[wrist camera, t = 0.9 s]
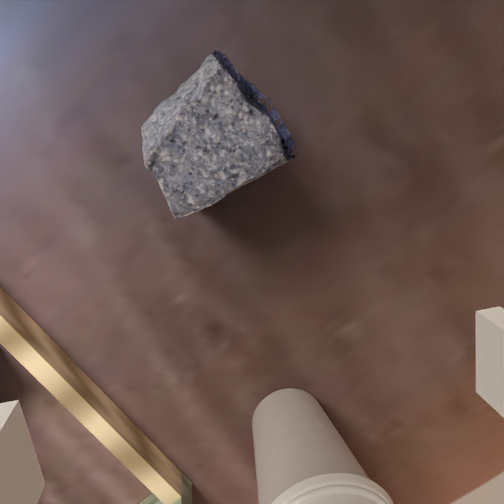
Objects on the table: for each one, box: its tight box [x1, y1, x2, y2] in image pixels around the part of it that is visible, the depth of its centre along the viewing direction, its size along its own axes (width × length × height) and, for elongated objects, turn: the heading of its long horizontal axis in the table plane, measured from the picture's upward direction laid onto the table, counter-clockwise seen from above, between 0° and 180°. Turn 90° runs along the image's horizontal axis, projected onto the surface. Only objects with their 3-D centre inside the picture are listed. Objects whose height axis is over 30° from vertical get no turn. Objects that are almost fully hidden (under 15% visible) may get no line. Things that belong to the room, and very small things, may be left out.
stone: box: [141, 51, 298, 219], centre depth 32 cm, size 12×10×10 cm
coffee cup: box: [252, 388, 394, 504], centre depth 36 cm, size 10×10×15 cm
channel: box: [0, 287, 192, 504], centre depth 38 cm, size 28×13×4 cm, turn 36°
